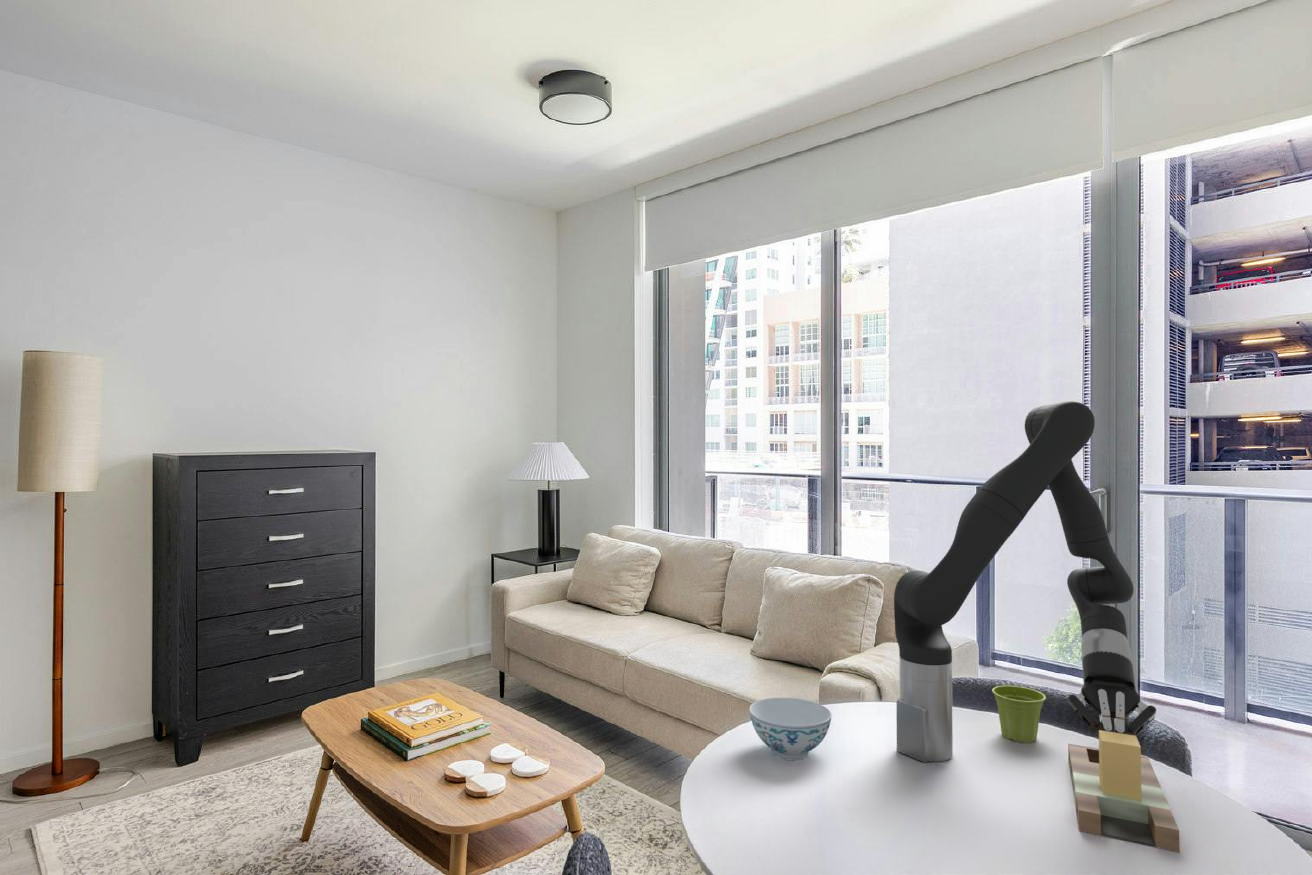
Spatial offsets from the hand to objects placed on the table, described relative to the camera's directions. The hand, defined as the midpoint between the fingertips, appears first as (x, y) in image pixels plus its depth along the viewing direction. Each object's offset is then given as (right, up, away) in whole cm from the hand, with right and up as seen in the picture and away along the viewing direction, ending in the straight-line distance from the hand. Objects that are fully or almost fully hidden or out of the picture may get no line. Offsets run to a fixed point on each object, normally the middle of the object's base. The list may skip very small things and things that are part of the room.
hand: (1116, 757), depth 113 cm
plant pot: (-2, -8, +26) cm, 27 cm away
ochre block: (-1, -4, -3) cm, 5 cm away
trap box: (0, -7, 0) cm, 7 cm away
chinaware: (-49, -7, +18) cm, 53 cm away
